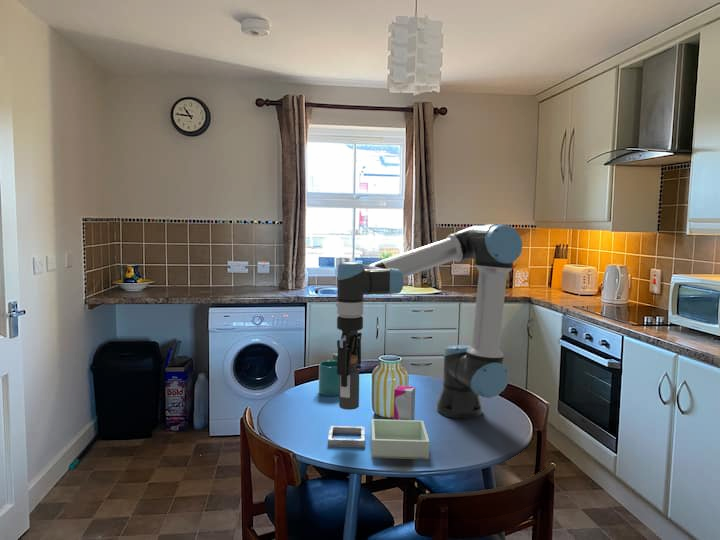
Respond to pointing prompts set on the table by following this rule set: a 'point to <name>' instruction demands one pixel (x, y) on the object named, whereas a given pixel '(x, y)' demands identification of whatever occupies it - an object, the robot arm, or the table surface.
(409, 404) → the supplement box
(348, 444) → the collar
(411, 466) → the table surface
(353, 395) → the bottle
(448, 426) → the table surface
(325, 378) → the cup
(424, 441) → the bin
